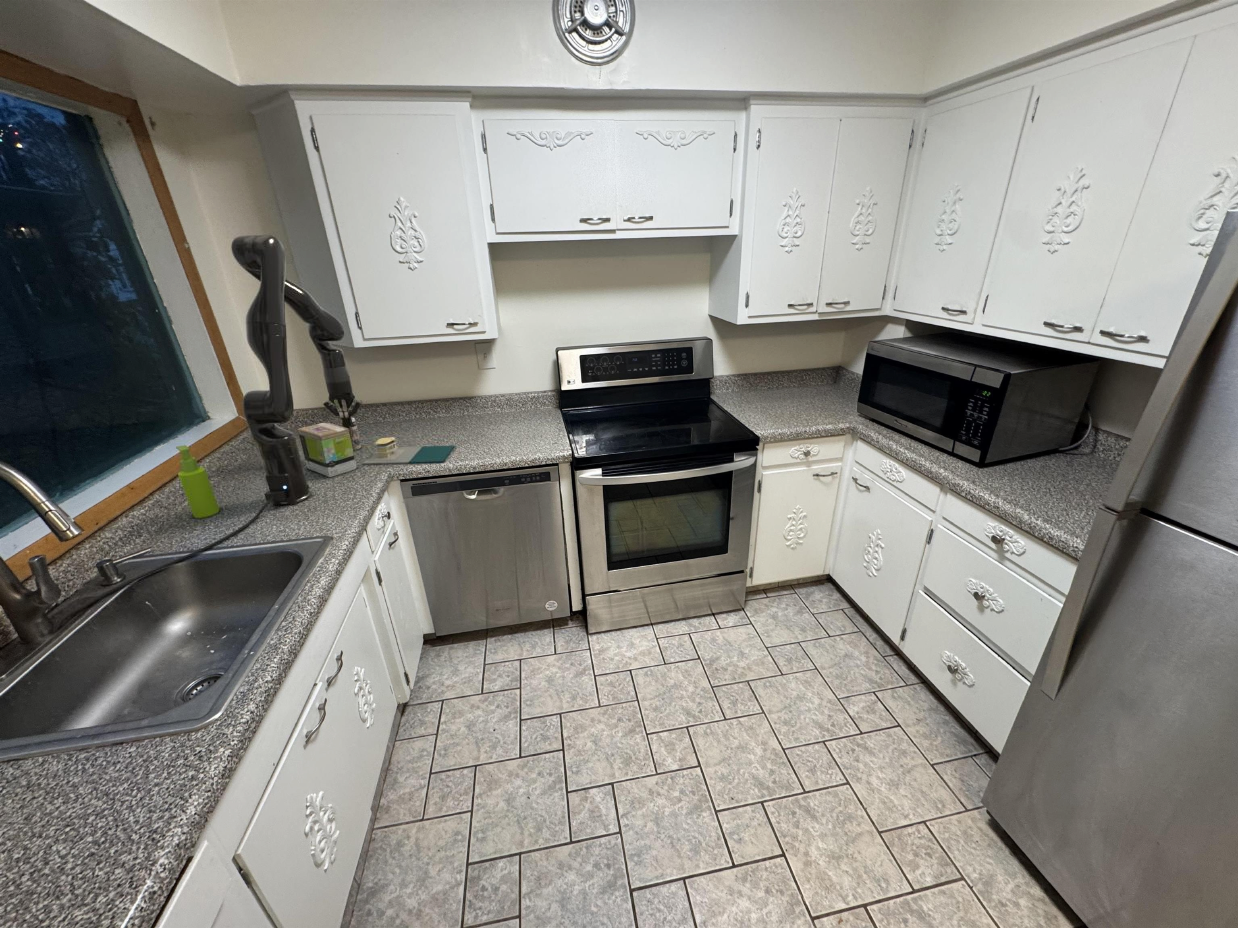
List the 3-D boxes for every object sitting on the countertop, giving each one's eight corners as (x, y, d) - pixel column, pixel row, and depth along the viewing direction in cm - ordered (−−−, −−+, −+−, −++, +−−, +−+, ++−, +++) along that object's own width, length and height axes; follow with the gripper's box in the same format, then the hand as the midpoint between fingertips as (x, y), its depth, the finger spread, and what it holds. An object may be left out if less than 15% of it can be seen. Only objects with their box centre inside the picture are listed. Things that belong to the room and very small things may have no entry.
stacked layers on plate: (394, 459, 180) (392, 445, 178) (369, 459, 180) (366, 445, 178) (405, 449, 189) (403, 435, 187) (381, 449, 189) (378, 436, 187)
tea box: (358, 468, 174) (349, 427, 168) (329, 478, 166) (318, 436, 161) (335, 459, 182) (325, 420, 176) (306, 468, 174) (295, 428, 168)
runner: (443, 462, 178) (442, 461, 178) (362, 464, 177) (362, 463, 177) (454, 447, 193) (454, 445, 193) (380, 448, 192) (379, 447, 192)
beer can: (355, 451, 190) (349, 420, 185) (344, 450, 191) (337, 420, 186) (364, 446, 194) (357, 417, 190) (353, 446, 195) (346, 416, 190)
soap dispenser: (214, 505, 148) (192, 441, 141) (222, 512, 144) (199, 447, 137) (190, 512, 144) (165, 447, 137) (196, 520, 140) (172, 453, 133)
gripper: (312, 382, 169) (324, 430, 176) (352, 381, 170) (362, 430, 177) (323, 377, 176) (334, 424, 183) (361, 376, 177) (371, 423, 184)
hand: (348, 426), depth 180 cm, fingers closed
